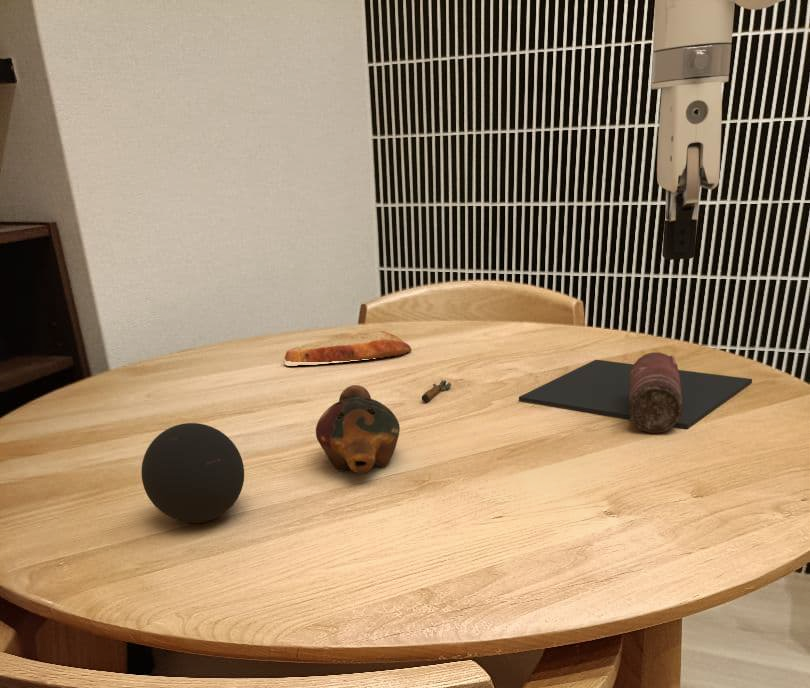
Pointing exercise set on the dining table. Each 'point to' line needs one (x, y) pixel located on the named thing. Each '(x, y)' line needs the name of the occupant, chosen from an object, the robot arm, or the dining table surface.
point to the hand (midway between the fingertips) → (678, 257)
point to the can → (655, 393)
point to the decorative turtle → (358, 431)
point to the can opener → (435, 390)
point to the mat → (610, 387)
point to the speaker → (192, 472)
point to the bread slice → (350, 348)
